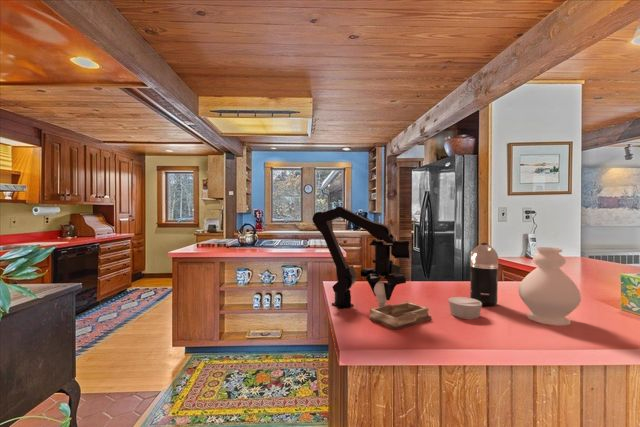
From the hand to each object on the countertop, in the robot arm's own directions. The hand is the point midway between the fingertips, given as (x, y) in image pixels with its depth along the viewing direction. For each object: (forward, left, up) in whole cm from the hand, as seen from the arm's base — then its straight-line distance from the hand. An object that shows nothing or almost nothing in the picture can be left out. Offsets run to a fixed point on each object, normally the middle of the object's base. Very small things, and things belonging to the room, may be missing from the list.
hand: (382, 298), depth 123 cm
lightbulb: (0, 0, -5) cm, 5 cm away
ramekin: (+21, +21, -5) cm, 30 cm away
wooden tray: (+11, -2, -4) cm, 12 cm away
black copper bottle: (+17, +41, -5) cm, 45 cm away
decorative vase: (+40, +41, -5) cm, 57 cm away
